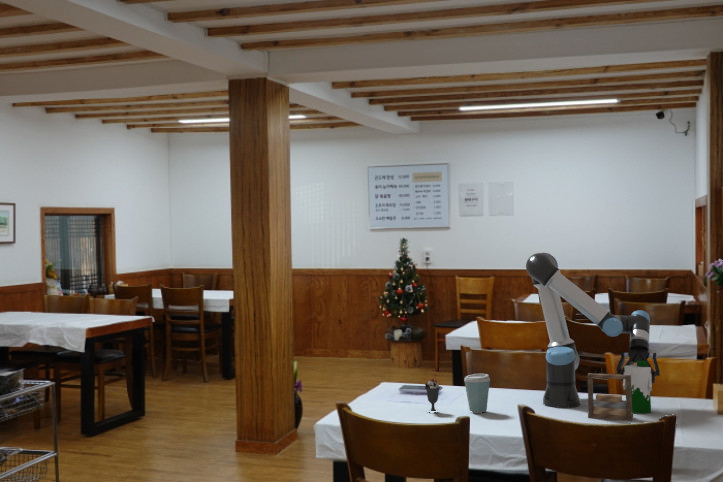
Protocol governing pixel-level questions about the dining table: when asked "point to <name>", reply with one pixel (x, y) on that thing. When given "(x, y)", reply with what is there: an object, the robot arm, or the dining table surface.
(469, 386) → the disposable coffee cup
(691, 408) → the dining table surface
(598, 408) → the offcut rack
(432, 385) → the sundae
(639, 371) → the soya milk
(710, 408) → the dining table surface
